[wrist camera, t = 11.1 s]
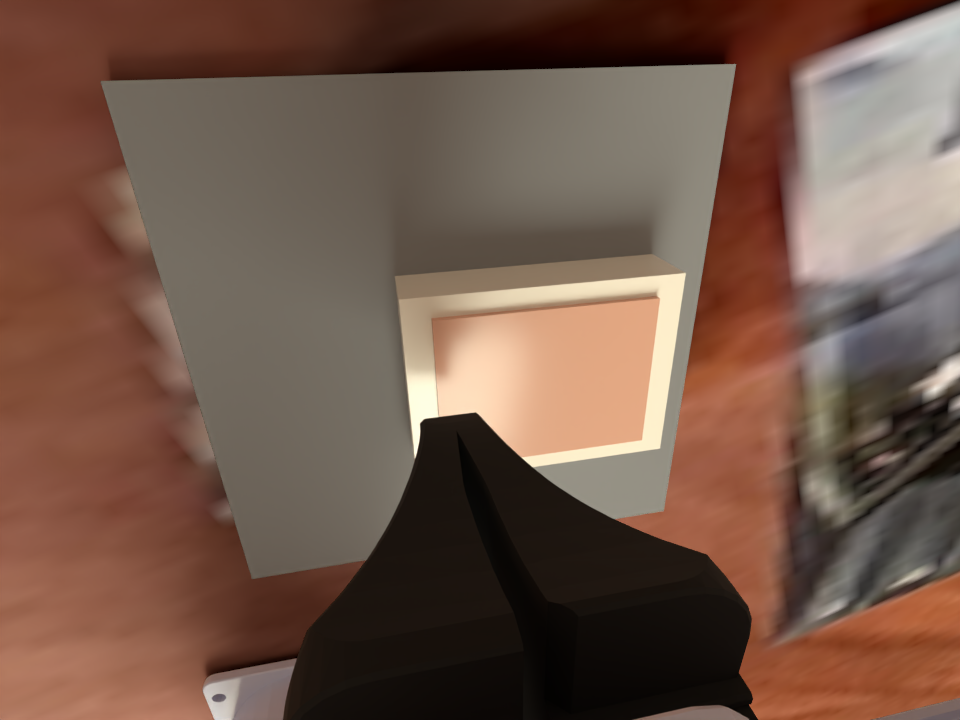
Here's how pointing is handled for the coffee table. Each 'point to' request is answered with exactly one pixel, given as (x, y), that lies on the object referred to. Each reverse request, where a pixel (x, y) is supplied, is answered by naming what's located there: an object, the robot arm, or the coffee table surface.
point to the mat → (395, 257)
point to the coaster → (545, 352)
